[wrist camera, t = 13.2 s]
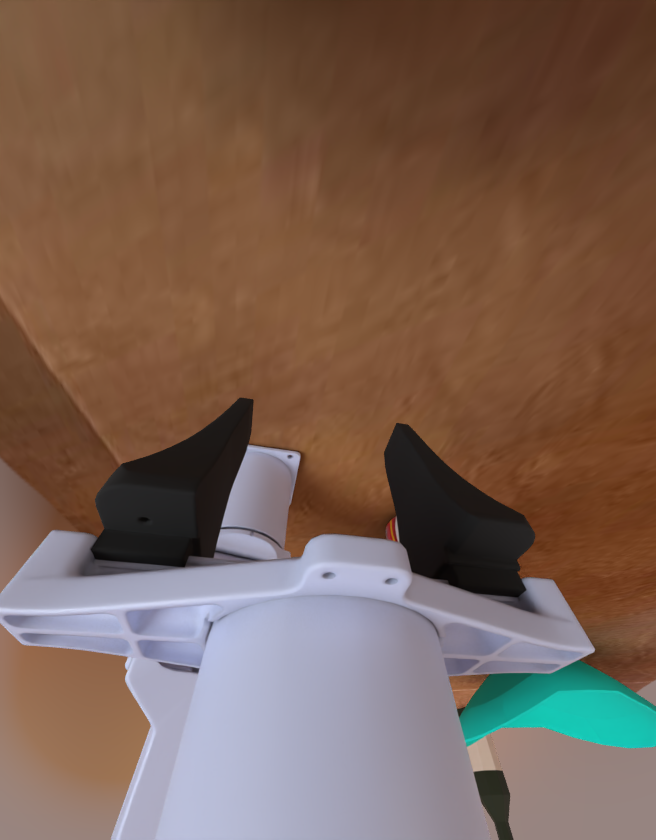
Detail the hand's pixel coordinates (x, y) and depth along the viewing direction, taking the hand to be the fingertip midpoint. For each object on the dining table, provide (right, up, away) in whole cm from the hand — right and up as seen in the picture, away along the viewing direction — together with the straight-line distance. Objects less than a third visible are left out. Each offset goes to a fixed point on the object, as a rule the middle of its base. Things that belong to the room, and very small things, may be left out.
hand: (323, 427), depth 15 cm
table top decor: (+43, -50, +50) cm, 83 cm away
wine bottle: (+44, -89, +79) cm, 127 cm away
